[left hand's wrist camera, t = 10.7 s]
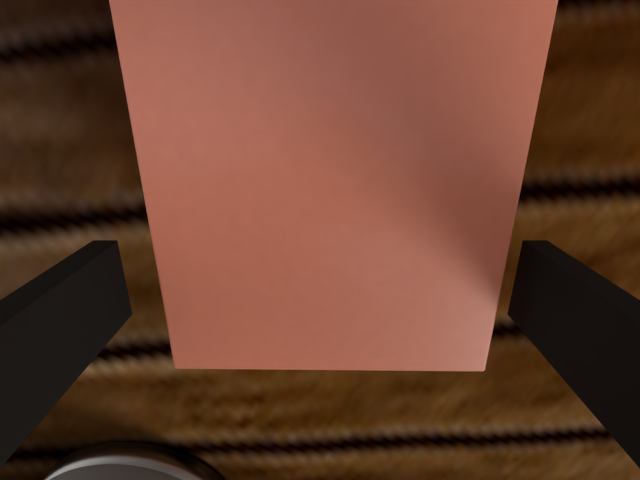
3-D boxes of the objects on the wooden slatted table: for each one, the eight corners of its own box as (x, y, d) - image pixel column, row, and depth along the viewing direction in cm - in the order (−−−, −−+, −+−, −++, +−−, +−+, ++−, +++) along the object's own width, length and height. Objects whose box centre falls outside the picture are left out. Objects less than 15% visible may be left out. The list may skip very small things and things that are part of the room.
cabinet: (189, -277, 13) (-66, -962, 5) (474, -282, 13) (757, -997, 5) (237, 253, 21) (173, 369, 12) (418, 254, 21) (485, 372, 12)
